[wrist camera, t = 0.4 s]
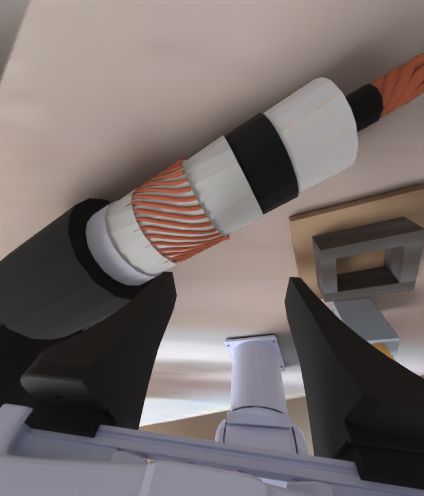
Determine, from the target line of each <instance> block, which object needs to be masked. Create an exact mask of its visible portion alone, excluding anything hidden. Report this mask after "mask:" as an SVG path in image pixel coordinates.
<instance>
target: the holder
mask: <svg viewBox="0 0 424 496" xmlns="http://www.w3.org/2000/svg"><path fill="white" fill-rule="evenodd" d="M289 223H290V229H291V235H292V241H293V247H294V252H295V258H296V264H297V270H298V276H299V278H301V279H302V280H303V281H304V282H305V283H306V284H307V285H308V287H309V288H310V289H311V290H312V291H313V292H314V293H315V294H316V296H317V297H318V298H319V299H324V301H325V302H330V301H337V300H345V299H352V298H360V297H367V296H374V295H382V294H389V293H396V292H404V291H411V290H414V286H415V281H416V276H417V271H418V266H419V261H420V256H421V251H422V246H423V241H424V184H419V185H415V186H411V187H407V188H403V189H400V190H396V191H392V192H388V193H384V194H380V195H376V196H372V197H368V198H364V199H360V200H356V201H352V202H348V203H344V204H340V205H336V206H332V207H328V208H324V209H320V210H316V211H312V212H308V213H304V214H300V215H296V216H292V217H289Z"/></svg>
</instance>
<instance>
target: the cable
mask: <svg viewBox="0 0 424 496" xmlns="http://www.w3.org/2000/svg"><path fill="white" fill-rule="evenodd" d="M422 93H424V53H423V54H421V55H418V56H416V57H414V58H412V59H411V60H410V61H409V62H408V63H406V64H404V65H402V66H399V67H396V68H394V69H393V70H391V71H390V72H389V74H388V75H387V76H385V77H379V78H378V79H376V80H375V81H374V83H373V85H371V84H367V85H364V86H362V87H361V88H359V89H358V90H356V91H354V92H353V93H351V94H349V95H348V96H346V97H345V96H344V94H343V92H342V91H341V90H340V89H339V88H338V87H337V86H336V85H335V84H334V83H333V82H332V81H331V80H329V79H327V78H324V77H320V78H316V79H314V80H312V81H311V82H309V83H308V84H306V85H305V86H303V87H302V88H300V89H299V90H297V91H296V92H294V93H293V94H291V95H290V96H288V97H287V98H285V99H284V100H282V101H281V102H279V103H278V104H276V105H275V106H273V107H272V108H270V109H269V110H267V111H266V112H264V113H263V114H261V113H259V114H257V115H256V116H254V117H253V118H251V119H250V120H248V121H247V122H245V123H244V124H242V125H241V126H239V127H238V128H236V129H235V130H233V131H232V132H230V133H229V134H227V135H226V136H223V135H222V136H221V137H219V138H218V139H217V140H215V141H214V142H212V143H211V144H209V145H208V146H206V147H205V148H204V149H202V150H201V151H199V152H198V153H196V154H195V155H194V156H192V157H191V158H189V159H188V160H186V159H184V158H181V159H179V160H178V161H177V162H175V163H174V164H172V165H171V166H170V167H168V168H167V169H165V170H164V171H162V172H161V173H160V174H158V175H156V176H155V177H153V178H152V179H151V180H149V181H147V182H146V183H145V184H143V185H142V186H140V187H138V188H136V189H134V190H133V191H132V192H130V193H129V194H127V195H126V196H124V197H123V198H122V199H120V200H119V201H118V200H116V201H114V202H113V203H112V202H110V201H107V200H102V199H91V198H89V199H87V200H85V201H83V202H81V203H79V204H77V205H75V206H74V207H72V208H71V209H70V210H68V211H67V212H65V213H64V214H63V215H61V216H60V217H59V218H57V219H56V220H54V221H53V222H52V223H50V224H49V225H48V226H46V227H45V228H44V229H42V230H41V231H39V232H38V233H37V234H35V235H34V236H33V237H31V238H30V239H29V240H27V241H26V242H24V243H23V244H22V245H20V246H19V247H18V248H16V249H15V250H14V251H12V252H11V253H10V254H8V255H7V256H6V257H5V258H4V259H2V260H1V261H0V321H1V322H2V323H3V324H4V325H5V326H6V327H7V328H8V329H10V330H12V331H15V332H17V333H20V334H22V335H24V336H27V337H29V338H31V339H56V338H61V337H66V336H68V335H70V334H72V333H74V332H76V331H79V330H81V329H83V328H85V327H87V326H89V325H91V324H93V323H95V322H97V321H99V320H102V319H104V318H106V317H108V316H110V315H112V314H113V313H115V312H116V311H118V310H119V309H120V308H122V307H123V306H125V305H126V304H127V303H128V302H130V301H131V300H132V299H133V298H134V297H136V296H137V295H138V294H139V293H141V292H142V291H143V290H144V289H145V288H146V287H147V286H148V285H149V284H151V283H152V282H153V281H154V280H155V279H156V278H157V277H158V276H159V275H160V274H161V273H162V272H164V271H165V270H167V269H169V268H172V267H174V266H175V265H177V264H179V263H181V262H182V261H184V260H186V259H188V258H190V257H192V256H194V255H195V254H197V253H200V252H202V251H203V250H205V249H208V248H210V247H211V246H213V245H216V244H218V243H219V242H221V241H223V240H230V239H229V234H230V233H232V232H234V231H236V230H238V229H240V228H242V227H244V226H246V225H248V224H250V223H252V222H253V221H255V220H257V219H259V218H261V217H263V214H265V213H267V212H269V211H271V210H273V209H275V208H277V207H279V206H281V205H283V204H285V203H287V202H289V201H290V200H292V199H294V198H296V197H298V194H299V193H301V192H303V191H305V190H307V189H308V188H310V187H312V186H314V185H316V184H318V183H320V182H322V181H324V180H326V179H328V178H330V177H332V176H334V175H336V174H338V173H340V172H342V171H343V170H345V169H347V168H349V167H350V166H352V165H353V164H354V161H355V159H356V157H357V150H358V137H357V132H359V131H360V130H362V129H364V128H366V127H368V126H369V125H371V124H373V123H375V122H376V121H378V120H379V118H380V117H382V116H383V115H385V114H387V113H390V112H391V111H393V110H394V109H396V108H398V107H400V106H402V105H404V104H406V103H408V102H410V101H411V100H413V99H414V98H416V97H417V96H419V95H420V94H422Z"/></svg>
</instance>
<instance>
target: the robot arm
mask: <svg viewBox="0 0 424 496" xmlns="http://www.w3.org/2000/svg"><path fill="white" fill-rule="evenodd" d="M176 297H177V294H176V289H175V283H174V278H173V273H172V272H162V273H161V274H160V275H159V276H158V277H157V278H156V279H155V280H154V281H153V282H152V283H151V284H149V285H148V286H147V287H146V288H145V289H144V290H143V291H142V292H141V293H139V294H138V295H137V296H136V297H134V298H133V299H132V300H131V301H130V302H128V303H127V304H126V305H125V306H123V307H122V308H120V309H119V310H118V311H116V312H115V313H113V314H112V315H110V316H109V317H107V318H105V319H104V320H102V321H101V322H99V323H97V324H96V325H94V326H92V327H90V328H89V329H87V330H85V331H83V332H81V333H79V334H77V335H75V336H73V337H71V338H69V339H67V340H65V341H63V342H61V343H58V344H56V345H54V346H52V347H50V348H47V349H45V350H44V351H43V352H42V353H41V354H40V356H39V357H38V358H37V359H36V360H35V361H34V362H33V364H32V365H31V366H30V367H29V368H28V369H27V371H26V372H25V373H24V374H23V375H22V376H21V379H20V382H21V385H22V386H23V387H24V388H25V389H26V390H27V391H28V392H29V393H30V394H31V395H32V396H33V397H34V398H35V399H37V400H38V401H39V402H38V404H37V405H36V407H35V408H34V409H32V408H29V407H26V406H20V405H12V404H4V405H2V407H1V408H0V496H424V379H423V378H422V377H420V376H418V375H417V374H415V373H413V372H412V371H410V370H408V369H407V368H405V367H404V366H402V365H400V364H399V363H397V362H396V361H394V360H393V359H391V358H390V357H388V356H387V355H385V354H384V353H382V352H381V351H380V350H378V349H377V348H375V347H374V346H373V345H371V344H370V343H369V342H367V341H366V340H365V339H363V338H362V337H361V336H359V335H358V334H357V333H356V332H354V331H353V330H352V329H351V328H350V327H348V326H347V325H346V324H345V323H344V322H343V321H342V320H340V319H339V318H338V317H337V316H336V315H335V314H334V313H333V312H332V311H331V310H330V309H329V308H328V307H327V306H326V305H325V304H324V303H323V302H322V301H321V300H320V299H319V298H318V297H317V296H316V294H315V293H314V292H313V291H312V290H311V289H310V288H309V287H308V285H307V284H306V283H305V282H304V281H303V280H302V279H301V278H299V277H290V278H289V283H288V288H287V293H286V298H285V307H286V314H287V319H288V322H289V326H290V329H291V333H292V336H293V340H294V343H295V347H296V350H297V354H298V358H299V362H300V367H301V372H302V377H303V383H304V389H305V394H306V400H307V407H308V413H309V420H310V426H311V434H312V441H313V449H314V456H310V455H309V453H308V449H307V444H306V440H305V437H304V434H303V432H302V431H301V430H300V429H299V427H298V426H297V425H295V424H293V425H292V426H291V420H290V415H288V413H287V407H286V400H285V394H284V388H283V382H282V376H281V372H282V371H285V366H284V362H283V359H282V355H281V352H280V349H279V345H278V342H277V338H276V336H274V335H268V336H258V337H249V338H239V339H229V340H225V345H226V347H227V349H228V351H229V353H230V355H231V357H232V380H231V410H230V411H227V420H222V422H221V424H220V425H219V426H218V428H217V432H216V437H215V441H209V440H202V439H195V438H188V437H181V436H175V435H168V434H161V433H154V432H147V431H141V430H138V428H139V423H140V419H141V414H142V410H143V405H144V401H145V397H146V392H147V388H148V384H149V380H150V377H151V373H152V369H153V365H154V362H155V358H156V355H157V351H158V348H159V345H160V342H161V340H162V337H163V335H164V332H165V330H166V327H167V325H168V322H169V320H170V317H171V314H172V312H173V309H174V305H175V301H176ZM144 458H145V459H144ZM146 459H151V460H155V461H151V462H150V463H149V464H148V463H147V460H146Z"/></svg>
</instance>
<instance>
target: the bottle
mask: <svg viewBox="0 0 424 496" xmlns="http://www.w3.org/2000/svg"><path fill="white" fill-rule="evenodd" d="M81 332H82V331H81V330H79V331H76V332H74V333H72V334H70V335H68V336H66V337H61V338H56V339H31V338H29V337H27V336H24V335H22V334H20V333H17V332H15V331H12V330H10V329H8V328H7V327H6V326H5V325H4V324H3V323H2V322H1V321H0V408H1V407H2V405H4V404H12V405H20V406H26V407H29V408H32V409H34V408H35V407H36V405H37V404H38V402H39V401H38V400H37V399H35V398H34V397H33V396H32V395H31V394H30V393H29V392H28V391H27V390H26V389H25V388H24V387H23V386H22V385H21V382H20V379H21V376H22V375H23V374H24V373H25V372H26V371H27V369H28V368H29V367H30V366H31V365H32V364H33V362H34V361H35V360H36V359H37V358H38V357H39V356H40V354H41V353H42V352H43V351H44V350H45V349H47V348H50V347H52V346H54V345H56V344H58V343H61V342H63V341H65V340H67V339H69V338H71V337H73V336H75V335H77V334H79V333H81Z"/></svg>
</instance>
